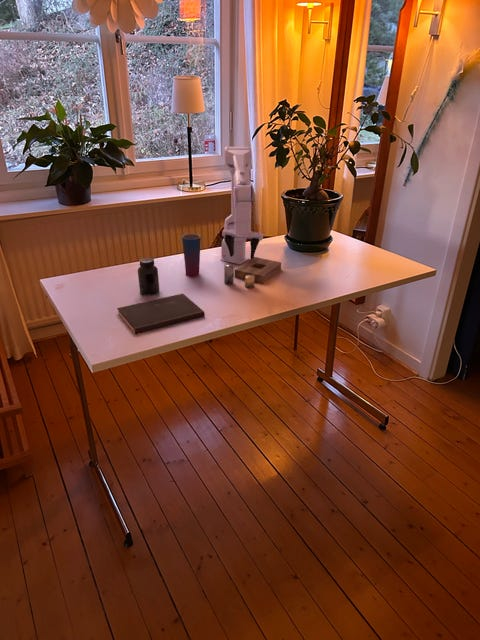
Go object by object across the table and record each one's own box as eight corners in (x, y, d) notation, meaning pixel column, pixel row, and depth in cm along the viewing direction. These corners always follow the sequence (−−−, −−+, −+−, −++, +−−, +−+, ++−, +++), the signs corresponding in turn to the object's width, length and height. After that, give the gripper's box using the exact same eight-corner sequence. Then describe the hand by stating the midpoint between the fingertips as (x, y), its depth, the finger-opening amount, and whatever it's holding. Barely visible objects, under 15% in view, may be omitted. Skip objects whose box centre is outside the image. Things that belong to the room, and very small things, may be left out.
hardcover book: (117, 314, 150) (117, 308, 149) (183, 299, 161) (183, 293, 159) (135, 336, 138) (134, 329, 137) (204, 318, 149) (204, 311, 147)
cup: (180, 276, 177) (178, 237, 170) (188, 269, 183) (187, 232, 176) (196, 279, 175) (195, 240, 168) (204, 272, 180) (203, 235, 173)
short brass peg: (243, 287, 169) (243, 277, 167) (247, 284, 172) (247, 274, 170) (251, 289, 168) (251, 279, 166) (255, 286, 170) (256, 275, 168)
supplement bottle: (152, 286, 168) (149, 254, 163) (163, 292, 164) (161, 259, 158) (135, 291, 164) (132, 259, 158) (147, 297, 160) (144, 264, 154)
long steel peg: (222, 283, 171) (222, 265, 168) (227, 280, 174) (227, 262, 171) (230, 285, 170) (230, 267, 167) (235, 282, 173) (235, 264, 169)
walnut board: (234, 276, 177) (234, 269, 176) (253, 263, 190) (254, 256, 188) (263, 283, 172) (263, 276, 171) (280, 269, 185) (281, 262, 183)
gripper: (219, 220, 161) (219, 258, 168) (260, 225, 158) (258, 263, 164) (225, 215, 167) (225, 251, 174) (265, 219, 163) (263, 256, 170)
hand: (242, 257), depth 169 cm, fingers open, 7 cm apart
